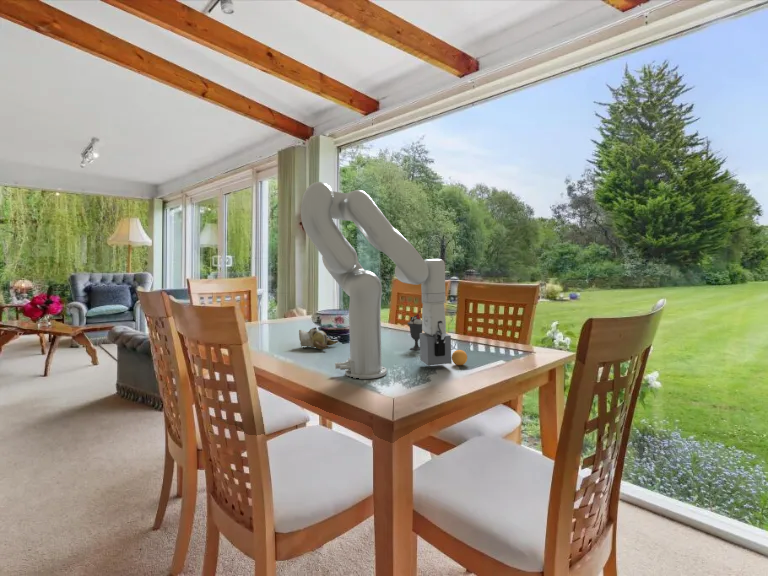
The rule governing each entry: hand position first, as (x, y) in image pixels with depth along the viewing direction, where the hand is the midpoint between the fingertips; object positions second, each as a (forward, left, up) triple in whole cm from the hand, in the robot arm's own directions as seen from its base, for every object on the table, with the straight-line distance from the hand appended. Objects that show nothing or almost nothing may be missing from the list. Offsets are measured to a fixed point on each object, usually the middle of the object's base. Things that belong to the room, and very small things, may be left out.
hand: (435, 352), depth 138 cm
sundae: (+2, +27, -5) cm, 28 cm away
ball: (+8, 0, -2) cm, 9 cm away
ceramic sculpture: (-35, +41, -5) cm, 54 cm away
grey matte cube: (0, 0, -3) cm, 3 cm away
